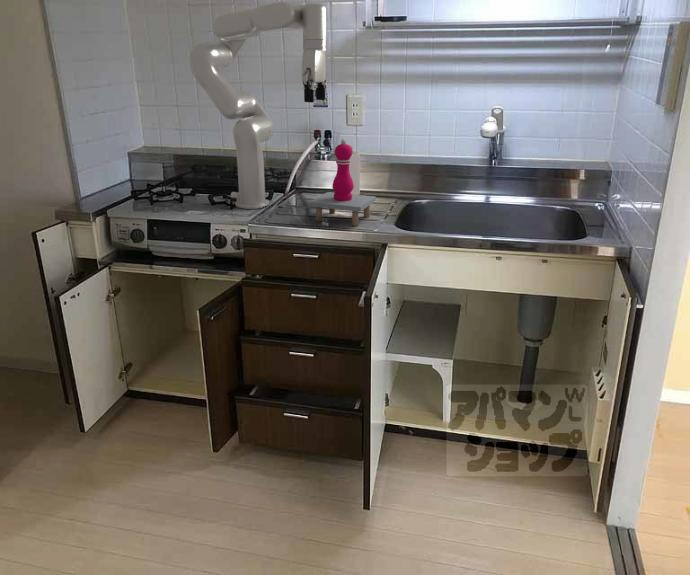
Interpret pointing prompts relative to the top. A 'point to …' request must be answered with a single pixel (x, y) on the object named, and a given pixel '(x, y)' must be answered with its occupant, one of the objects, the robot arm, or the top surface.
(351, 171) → the milk
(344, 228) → the top surface
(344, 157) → the pepper mill
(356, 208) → the stool
